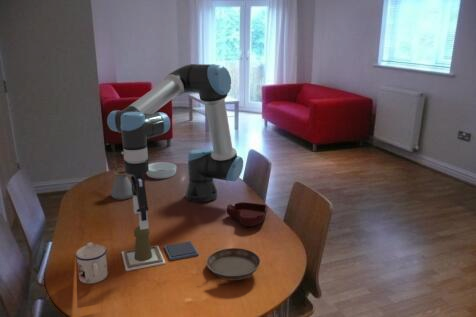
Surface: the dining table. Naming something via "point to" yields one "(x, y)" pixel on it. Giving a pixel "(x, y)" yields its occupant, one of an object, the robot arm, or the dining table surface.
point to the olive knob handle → (142, 245)
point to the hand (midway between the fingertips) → (141, 220)
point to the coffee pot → (121, 185)
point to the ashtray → (247, 213)
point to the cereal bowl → (155, 168)
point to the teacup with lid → (92, 263)
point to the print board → (134, 264)
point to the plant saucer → (233, 263)
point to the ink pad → (181, 250)
